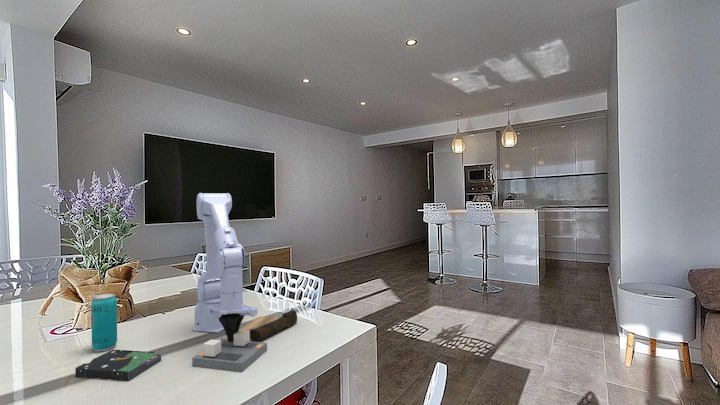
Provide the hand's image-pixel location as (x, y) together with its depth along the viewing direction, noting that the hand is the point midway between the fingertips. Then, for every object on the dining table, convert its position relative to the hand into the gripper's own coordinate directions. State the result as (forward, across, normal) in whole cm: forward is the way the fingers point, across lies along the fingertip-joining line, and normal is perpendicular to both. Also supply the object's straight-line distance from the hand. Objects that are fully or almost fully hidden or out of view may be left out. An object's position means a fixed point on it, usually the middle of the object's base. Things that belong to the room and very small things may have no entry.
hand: (232, 340), depth 92 cm
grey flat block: (+3, +2, -4) cm, 5 cm away
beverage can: (+3, -37, -6) cm, 38 cm away
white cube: (+1, -1, -7) cm, 7 cm away
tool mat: (+3, -3, +15) cm, 16 cm away
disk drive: (+4, -22, -14) cm, 26 cm away
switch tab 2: (+1, +3, 0) cm, 3 cm away
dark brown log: (+3, +5, +15) cm, 16 cm away
